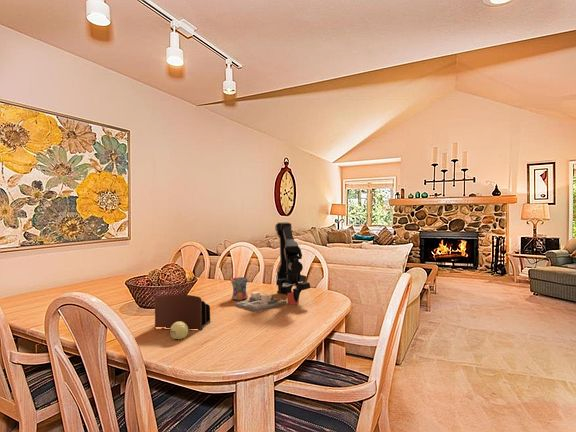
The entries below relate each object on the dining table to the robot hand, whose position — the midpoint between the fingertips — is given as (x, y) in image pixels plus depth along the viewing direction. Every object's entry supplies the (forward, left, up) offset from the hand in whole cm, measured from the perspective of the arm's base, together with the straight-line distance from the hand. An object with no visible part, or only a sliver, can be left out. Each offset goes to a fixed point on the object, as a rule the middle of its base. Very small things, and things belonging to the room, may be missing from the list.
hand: (293, 301), depth 168 cm
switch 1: (+11, -15, 0) cm, 19 cm away
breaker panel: (+12, -10, -1) cm, 16 cm away
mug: (+11, -28, -1) cm, 31 cm away
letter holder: (+53, -11, -2) cm, 55 cm away
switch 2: (+11, -7, 0) cm, 14 cm away
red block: (0, 0, -1) cm, 1 cm away
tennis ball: (+61, 0, -1) cm, 61 cm away
